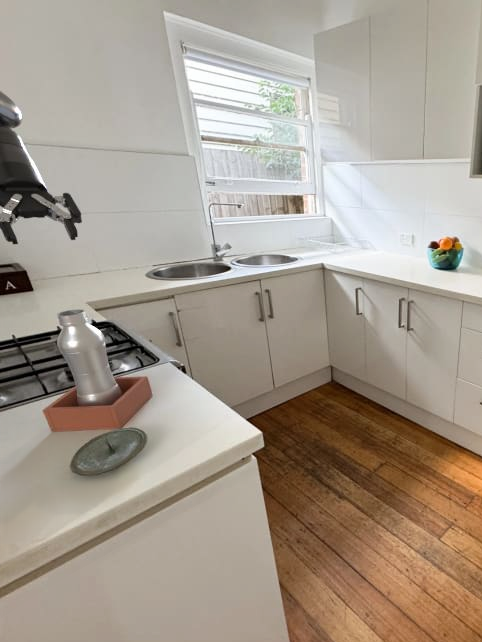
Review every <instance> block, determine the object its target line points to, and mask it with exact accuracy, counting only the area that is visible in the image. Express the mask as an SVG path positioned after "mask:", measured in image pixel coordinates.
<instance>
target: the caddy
mask: <svg viewBox="0 0 482 642" xmlns="http://www.w3.org/2000/svg"><path fill="white" fill-rule="evenodd" d="M113 377H114V376H113ZM114 379H115V381H116V383H117V384H118V386H119V387H120V389H121V391H122V396H121V397H120V398H119V399H118V400H117V401H116V402H115V403H114V404H113V405H112V406H111V405H108V406H82V407H80V406H79V405H78V400H77V390H76V385H75V386H72V388H71V389H69V390H68V391H67V392H65V393H64V394H63V395H61V396H60V397H59V398H57V399H55V401H53V402H52V403H50V404H49V405H47V406H46V407H44V408H43V409H42V413H43V415H44V417H45V420H46V423H47V424H48V426H49V429H50V432H71V431H73V432H74V431H91V430H92V431H93V430H94V431H95V430H116V429H121V428H124V426H125V425H126V424H127V423H128V422H129V421H130V419H132V418H133V417H134V416H135V415H136V414H137V412H139V410H141V409H142V407H143V406H144V405H145V404H146V403H147V402H148V401H149V400H150V399H151V398H152V397H153V395H154V393H153V391H152V388H151V385H150V381H149V377H148V376H146V375H144V376H115V377H114Z"/></svg>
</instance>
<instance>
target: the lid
mask: <svg viewBox="0 0 482 642" xmlns="http://www.w3.org/2000/svg"><path fill="white" fill-rule="evenodd" d="M147 443H148V434H147V433H146V432H145V431H144V430H143V429H141V428H138V427H122V428H119V429H113V430H111V431H107V432H105V433H102V434H99V435H97V436H95V437H93V438H91V439H89V440H88V441H87V442H85V443H84V444H83V445H81V447H80V448H78V449H77V451H76V452H75V453H74V455H73V456H72V459H71V460H70V464H69V468H70V471H71V472H72V473H74V474H76V475H78V476H83V477H84V476H86V477H87V476H98V475H101V474H103V473H107V472H111V471H113V470H115V469H118V468H120V467H122V466H123V465H125V464H127V463H128V462H130V461H131V460H132V459H134V458H135V457H136V456H138V454H140V453H141V452H142V451H143V449H144V448H145V446H147Z"/></svg>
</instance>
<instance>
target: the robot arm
mask: <svg viewBox="0 0 482 642" xmlns="http://www.w3.org/2000/svg"><path fill="white" fill-rule="evenodd" d="M22 123H23V114H22V111H21V109H20V108H19V106H18V105H17V104H16V103H15V101H14V100H12V99H11V98H10V97H9V96H8V95H7V94H6V93H4V92H3V91H1V90H0V207H1V208H2V210H1V212H0V230H1V232H2V235H3V237H4V239H5V241H6V242H8V243H12V245H19V242H18V239H17V236H16V234H15V232H14V230H13V227H12V225H13V224H16V223H17V221H18V220H19V219H20V218H23V219H32V218H36V219H37V218H39V219H45V218H46V217H47V218H49V219H51V220H52V221H55V222H59V223H60V224H62V225H64V228H65V231H66V233H67V235H68V237H69V239H70V241H76V238H78V237H79V232H78V229H77V227H76V224H82V222H83V218H82V212H81V211H80V209H79V207H78V205H77V203H76V202H75V200H74V199H73V197H72V195H71V194H70V193H69V192H63V193H62V195H56V196H55V195H53V194H52V193H50V191H49V190H48V188H47V186H46V184H45V182H44V179H43V177H42V175H41V173H40V171H39V169H38V167H37V165H36V164H35V162H34V160H33V159H32V157H31V156H30V154H29V152H28V150H27V147H26V146H25V143H24V141H23V139H22V138H21V136H20V135H19V134H18V133H17V132H16V131H15V130H13V129H16V128H18V127H20V126H21V124H22ZM57 204H59V205H60V206H61V207H63V208H64V209H67V211H68V212H66V211H65V210H63V209H61V207H59V205H57Z"/></svg>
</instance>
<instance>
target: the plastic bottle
mask: <svg viewBox="0 0 482 642" xmlns="http://www.w3.org/2000/svg"><path fill="white" fill-rule="evenodd" d="M57 319H58V324H59V326H62V329H61V331H60V332H59V333H58V337H57V339H56V346H57V348H58V351H60V353H61V355H62V357H63V358H64V360H65V362H66V363H67V366H68V368H69V371H70V372H71V374H72V377H73V380H74V385H75V386H76V390H77V400H78V405H79V406H80V407H82V406H108V405H111V406H112V405H113V404H114V403H115V402H116V401H117V400H118V399H119V398H120V397H121V396H122V391H121V389H120V387H119V386H118V384H117V383H116V381H115V379H114V374H113V372H112V369H111V366H110V363H109V358H108V354H107V353H108V352H107V345H106V339H105V335H104V333H102V331H101V330H99V329H98V328H97V327H96V326H93V325H92V324H90V323H89V320H90V319H89V317H88V316H87V313H86V311H85V310H84V309H80V308H79V309H78V308H77V309H69V310H64V311H60V312H57Z"/></svg>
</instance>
